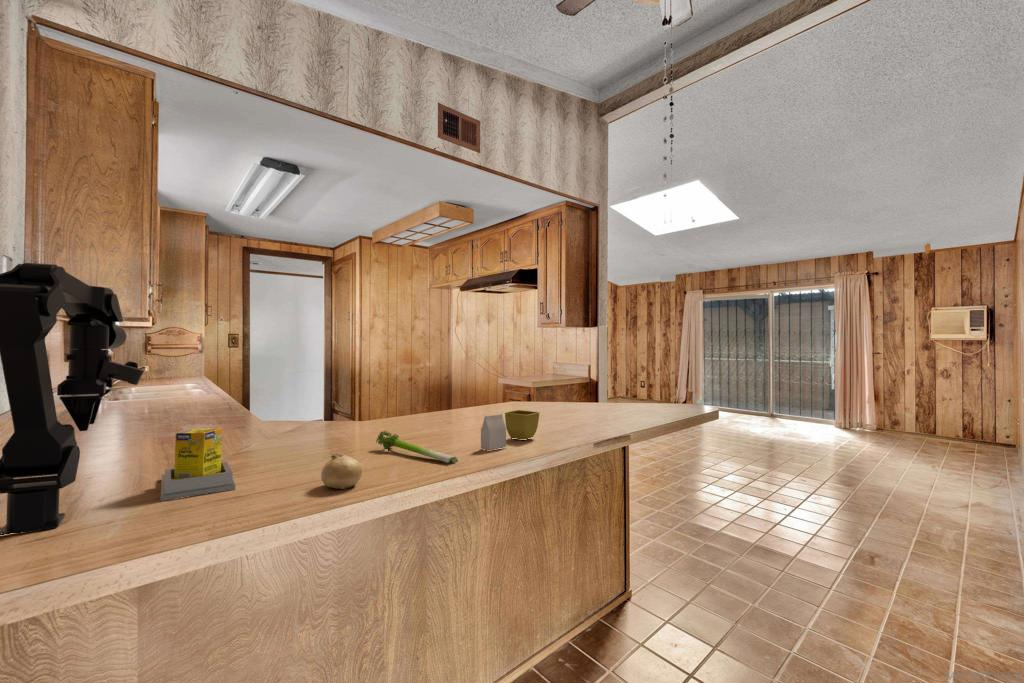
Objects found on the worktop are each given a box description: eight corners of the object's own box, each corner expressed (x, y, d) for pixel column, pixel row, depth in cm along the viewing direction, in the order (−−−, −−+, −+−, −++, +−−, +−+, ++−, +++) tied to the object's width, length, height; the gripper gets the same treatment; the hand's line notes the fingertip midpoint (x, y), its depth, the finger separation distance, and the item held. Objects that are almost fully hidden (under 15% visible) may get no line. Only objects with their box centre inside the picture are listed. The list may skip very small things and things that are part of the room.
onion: (360, 479, 98) (361, 448, 98) (362, 490, 90) (363, 455, 90) (321, 483, 95) (322, 450, 95) (320, 494, 87) (321, 459, 87)
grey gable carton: (505, 448, 131) (506, 414, 131) (489, 451, 126) (489, 417, 126) (497, 446, 133) (497, 413, 133) (480, 449, 128) (481, 415, 129)
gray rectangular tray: (235, 489, 90) (235, 472, 90) (160, 501, 83) (161, 482, 83) (226, 470, 104) (226, 455, 104) (161, 479, 97) (162, 463, 97)
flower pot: (540, 438, 145) (540, 411, 146) (527, 443, 138) (527, 414, 138) (517, 436, 150) (517, 409, 150) (503, 440, 143) (504, 412, 143)
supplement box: (203, 487, 88) (204, 432, 88) (172, 487, 88) (174, 432, 88) (221, 478, 94) (223, 427, 94) (193, 478, 94) (195, 427, 94)
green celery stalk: (442, 475, 109) (368, 449, 127) (461, 473, 115) (388, 448, 132) (446, 450, 110) (372, 428, 127) (464, 449, 115) (391, 428, 133)
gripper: (139, 350, 85) (137, 430, 85) (143, 349, 100) (142, 417, 100) (57, 349, 78) (55, 436, 78) (75, 349, 93) (73, 422, 93)
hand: (87, 427), depth 87 cm, fingers open, 9 cm apart
